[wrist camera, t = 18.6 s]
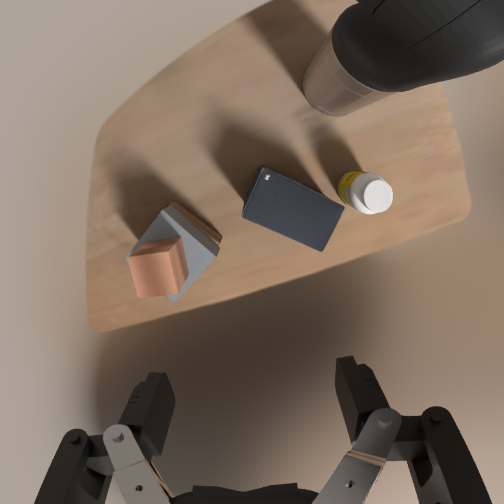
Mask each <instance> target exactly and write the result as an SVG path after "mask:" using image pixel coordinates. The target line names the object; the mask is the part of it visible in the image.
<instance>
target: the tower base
mask: <svg viewBox="0 0 504 504" xmlns="http://www.w3.org/2000/svg"><path fill="white" fill-rule="evenodd" d="M170 205H172V206H173V207H174V208H175V209H176V210H177V211H178V212H180V213H181V214H182V215H183V216H184V217H185V218H186V219H188V220H189V221H190V222H191V223H192V224H193V225H194V226H195V227H197V228H198V229H199V230H200V231H201V232H202V233H203V234H205V235H206V236H207V237H208V238H209V239H210V240H212V241H213V242H214V243H215V244H216V245H217V246H218V245H219V244H220V242H221V240H222V236H221V235H220V234H218V233H217V232H216V231H214V230H213V229H212V228H210V227H209V226H208V225H206V224H205V223H204V222H202V221H201V220H200V219H198V218H197V217H196V216H194V215H193V214H192V213H190V212H189V211H188V210H186V209H185V208H184V207H182V206H181V205H180V204H178V203H177V202H176V201H174V202H172V203H170V204H168V205H167V207H168V206H170Z"/></svg>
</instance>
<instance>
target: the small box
mask: <svg viewBox="0 0 504 504" xmlns="http://www.w3.org/2000/svg"><path fill="white" fill-rule="evenodd" d="M344 209H345V207H344V206H342V205H340V204H338V203H336V202H334V201H333V200H331V199H329V198H328V197H326V196H325V195H324V194H321V193H319V192H318V191H316V190H314V189H312V188H310V187H308V186H306V185H304V184H302V183H300V182H298V181H295V180H293V179H291V178H289V177H288V176H285V175H283V174H281V173H279V172H276V171H274V170H271V169H269V168H267V167H265V166H263V165H262V166H259V168H258V172H257V174H256V176H255V179H254V180H253V183H252V185H251V187H250V190H249V191H248V193H247V195H246V199H245V201H244V207H243V211H242V215H241V216H242V218H245V219H247V220H249V221H252V222H254V223H256V224H259V225H261V226H263V227H266V228H268V229H270V230H272V231H275V232H277V233H279V234H282V235H284V236H286V237H288V238H291V239H293V240H295V241H297V242H299V243H302V244H304V245H306V246H308V247H310V248H313V249H315V250H317V251H319V252H322V251H323V250H324V248H325V246H326V245H327V243H328V241H329V239H330V237H331V235H332V233H333V231H334V229H335V227H336V225H337V223H338V221H339V219H340V217H341V215H342V213H343V211H344Z"/></svg>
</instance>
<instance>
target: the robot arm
mask: <svg viewBox="0 0 504 504" xmlns="http://www.w3.org/2000/svg"><path fill="white" fill-rule="evenodd" d="M356 1H358V2H359V3H357V4H354V5H352V6H350V7H348V8H347V9H346V10H345V11H344V12H343V13H342V14H341V15H340V16H339V18H338V20H337V21H336V23H335V24H334V26H333V27H332V29H331V31H330V32H329V34H328V35H327V37H326V39H325V41H324V42H323V44H322V46H321V47H320V49H319V50H318V52H317V54H316V55H315V57H314V59H313V60H312V62H311V64H310V65H309V67H308V69H307V70H306V72H305V74H304V77H303V82H302V87H303V92H304V94H305V97H306V99H307V100H308V102H309V103H310V104H311V105H312V106H313V107H314V108H315V109H317V110H318V111H320V112H321V113H324V114H326V115H330V116H344V115H347V114H349V113H351V112H354V111H356V110H358V109H360V108H363V107H365V106H367V105H369V104H372V103H374V102H376V101H378V100H381V99H383V98H385V97H388V96H390V95H392V94H394V93H397V92H404V91H408V90H411V89H414V88H417V87H420V86H424V85H428V84H432V83H436V82H441V81H445V80H450V79H454V78H458V77H462V76H466V75H469V74H472V73H475V72H478V71H481V70H484V69H486V68H489V67H491V66H493V65H496V64H497V63H499V62H501V61H502V60H504V0H356ZM335 389H336V394H337V397H338V400H339V404H340V407H341V410H342V414H343V417H344V420H345V423H346V427H347V430H348V434H349V437H350V441H351V444H352V445H354V446H353V447H352V449H351V450H350V452H349V451H348V452H347V453H346V454H345V456H344V457H343V459H342V460H341V462H340V464H339V465H338V467H337V468H336V470H335V471H334V473H333V475H332V476H331V477H330V479H329V480H328V482H327V483H326V485H325V486H324V488H323V489H322V490H321V492H320V493H317V492H314V491H311V490H306V489H298V487H297V483H290V484H280V485H270V486H266V487H263V488H259V489H255V490H251V491H246V492H240V491H236V490H231V489H226V488H221V487H214V486H193V490H192V492H187V493H184V494H181V495H178V496H176V497H174V496H173V495H172V493H171V492H170V491H169V489H168V488H167V486H166V485H165V483H164V481H163V480H162V478H161V477H160V475H159V473H158V472H157V470H156V468H155V467H154V465H153V463H152V462H151V459H152V455H155V456H161V453H162V450H163V447H164V443H165V439H166V436H167V432H168V429H169V425H170V422H171V418H172V415H173V411H174V408H175V402H176V401H175V394H174V392H173V389H172V386H171V384H170V381H169V379H168V376H167V374H166V373H165V372H150V373H149V374H148V376H147V379H146V381H145V382H140V383H139V384H138V385H137V386H136V387H135V388H134V390H133V392H132V394H131V397H130V399H129V401H128V403H127V405H126V407H125V410H124V412H123V414H122V416H121V419H120V420H119V423H118V425H114V426H111V427H109V428H108V429H107V430H106V431H105V432H104V434H103V435H95V436H88V435H87V433H86V432H85V431H84V430H82V429H73V430H70V431H68V432H67V433H66V434H65V435H64V437H63V439H62V441H61V443H60V445H59V448H58V450H57V452H56V454H55V456H54V458H53V460H52V463H51V465H50V467H49V469H48V472H47V474H46V476H45V479H44V481H43V483H42V486H41V488H40V491H39V493H38V495H37V498H36V500H35V503H34V504H105V500H106V496H107V492H108V489H109V486H110V482H111V479H112V476H113V475H114V477H115V480H116V482H117V484H118V486H119V489H120V491H121V493H122V495H123V497H124V499H125V501H126V504H364V503H365V501H366V500H367V498H368V496H369V494H370V492H371V490H372V488H373V486H374V485H375V483H376V481H377V479H378V477H379V475H380V473H381V471H382V469H383V467H384V465H385V463H386V461H407V464H408V467H409V470H410V473H411V477H412V480H413V483H414V487H415V490H416V493H417V497H418V500H419V504H492V502H491V500H490V497H489V495H488V492H487V490H486V487H485V485H484V482H483V481H482V478H481V475H480V473H479V471H478V469H477V466H476V464H475V462H474V460H473V458H472V456H471V453H470V451H469V449H468V447H467V445H466V443H465V441H464V439H463V437H462V435H461V433H460V431H459V429H458V427H457V425H456V423H455V421H454V419H453V418H452V416H451V414H450V412H449V411H448V410H447V409H445V408H443V407H439V406H435V407H430V408H428V409H426V410H425V411H424V412H423V413H422V415H421V416H402V415H400V414H399V413H398V412H397V411H395V410H394V409H391V408H390V406H389V404H388V402H387V400H386V397H385V395H384V393H383V391H382V389H381V387H380V385H379V383H378V381H377V379H376V378H375V375H374V373H373V371H372V369H370V368H369V367H368V366H367V365H365V364H360V365H357V364H356V362H355V360H354V357H353V356H352V355H351V356H345V357H340V358H337V359H336V372H335Z"/></svg>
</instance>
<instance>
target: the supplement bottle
mask: <svg viewBox="0 0 504 504" xmlns="http://www.w3.org/2000/svg"><path fill="white" fill-rule="evenodd" d="M338 194H339V197H340V199H341V200H342V201H343V202H344V203H345V204H346V205H348V206H350V207H352V208H354V209H356V210H358V211H360V212H362V213H365V214H374V213H377V212H383V211H385V210H386V209H388V208H389V206H390V205H391V203H392V200H393V192H392V189H391V187H390V185H389V184H388V183H387V182H385V181H384V180H383V179H382V178H381V177H380V176H379V175H377V174H374V173H369V172H360V171H351V172H348V173H346V174H344V175H343V176H342V177H341V179H340V180H339V183H338Z"/></svg>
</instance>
